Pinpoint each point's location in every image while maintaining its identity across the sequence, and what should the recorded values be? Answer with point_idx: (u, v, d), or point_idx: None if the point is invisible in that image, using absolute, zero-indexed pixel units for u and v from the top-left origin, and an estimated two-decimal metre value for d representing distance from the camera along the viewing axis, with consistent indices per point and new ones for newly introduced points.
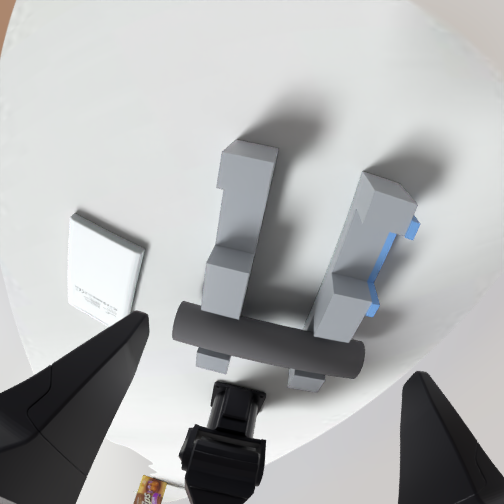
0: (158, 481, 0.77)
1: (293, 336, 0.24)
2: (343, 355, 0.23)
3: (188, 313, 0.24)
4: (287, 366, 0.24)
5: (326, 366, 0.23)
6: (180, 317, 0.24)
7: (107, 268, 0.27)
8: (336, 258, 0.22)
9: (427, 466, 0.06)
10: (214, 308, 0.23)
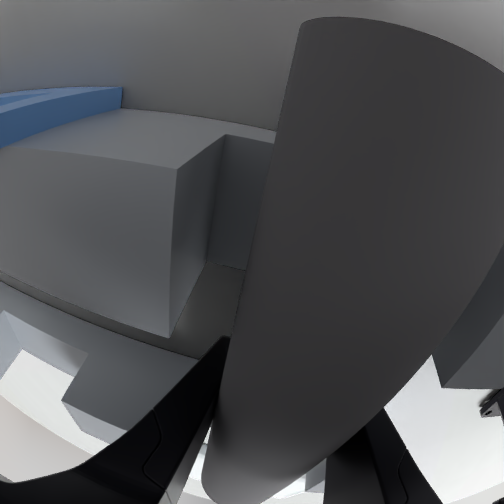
0: None
1: (223, 374, 0.06)
2: (292, 198, 0.03)
3: (201, 474, 0.11)
4: (325, 446, 0.05)
5: (348, 341, 0.03)
6: (203, 486, 0.10)
7: None
8: None
9: (346, 469, 0.06)
10: None
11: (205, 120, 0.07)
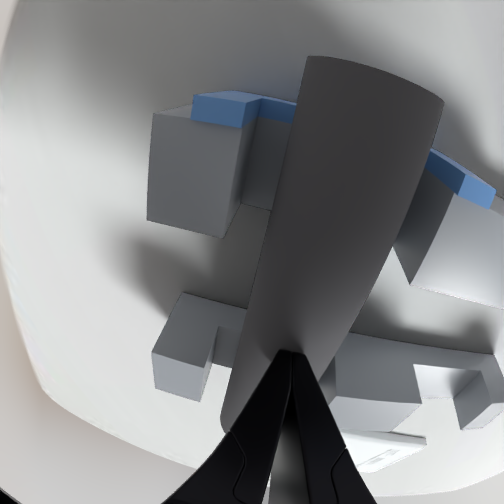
0: None
1: (255, 278, 0.09)
2: (305, 140, 0.06)
3: (222, 413, 0.14)
4: (332, 321, 0.08)
5: (338, 210, 0.06)
6: (223, 425, 0.14)
7: None
8: None
9: (285, 464, 0.06)
10: (393, 422, 0.12)
11: None
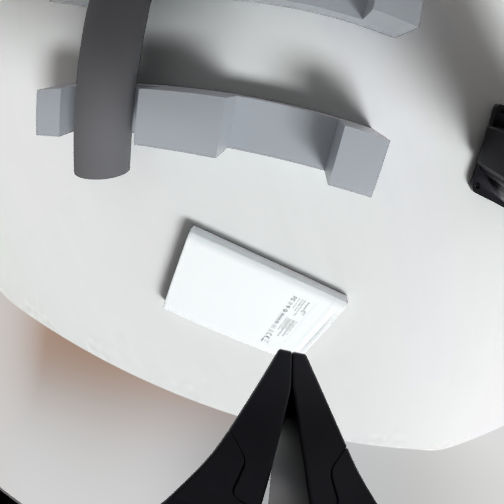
0: None
1: None
2: None
3: None
4: (112, 0, 0.09)
5: None
6: (74, 164, 0.15)
7: (220, 284, 0.22)
8: None
9: (285, 464, 0.06)
10: (209, 135, 0.14)
11: None
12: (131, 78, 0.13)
